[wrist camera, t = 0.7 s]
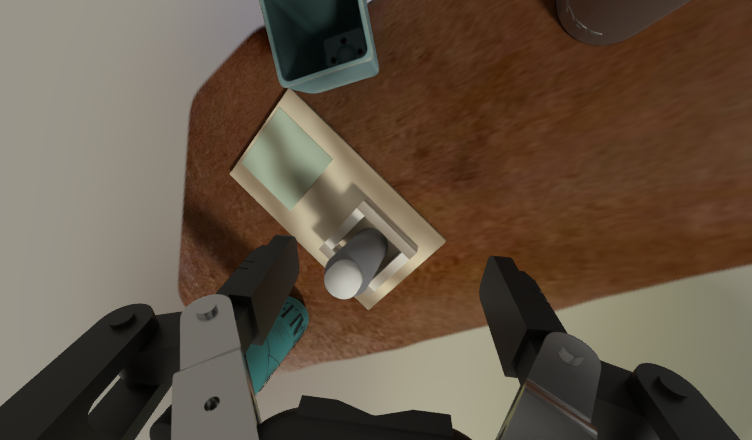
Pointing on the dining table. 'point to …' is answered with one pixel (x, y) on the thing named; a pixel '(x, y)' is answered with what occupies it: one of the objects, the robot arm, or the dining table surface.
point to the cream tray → (331, 194)
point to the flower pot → (320, 42)
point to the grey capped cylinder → (355, 264)
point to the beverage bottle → (258, 356)
